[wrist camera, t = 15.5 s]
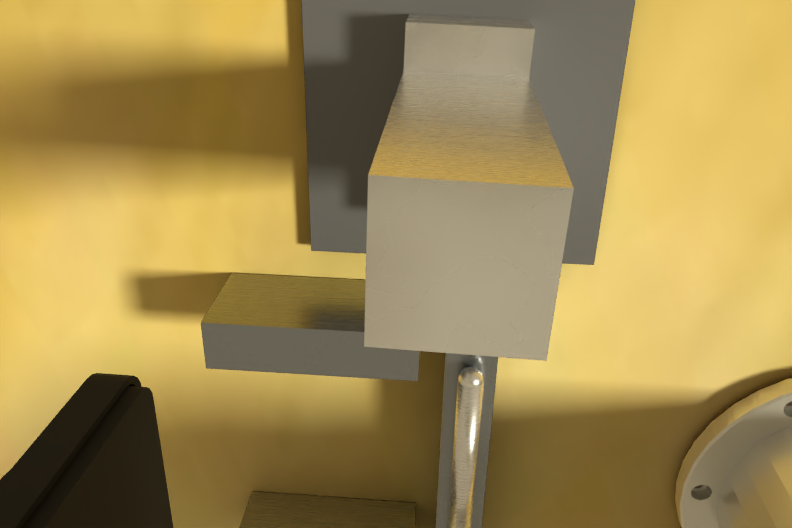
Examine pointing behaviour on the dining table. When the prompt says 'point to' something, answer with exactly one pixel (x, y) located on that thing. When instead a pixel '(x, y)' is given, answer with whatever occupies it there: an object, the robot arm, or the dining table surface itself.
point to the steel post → (465, 198)
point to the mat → (380, 76)
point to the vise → (347, 357)
